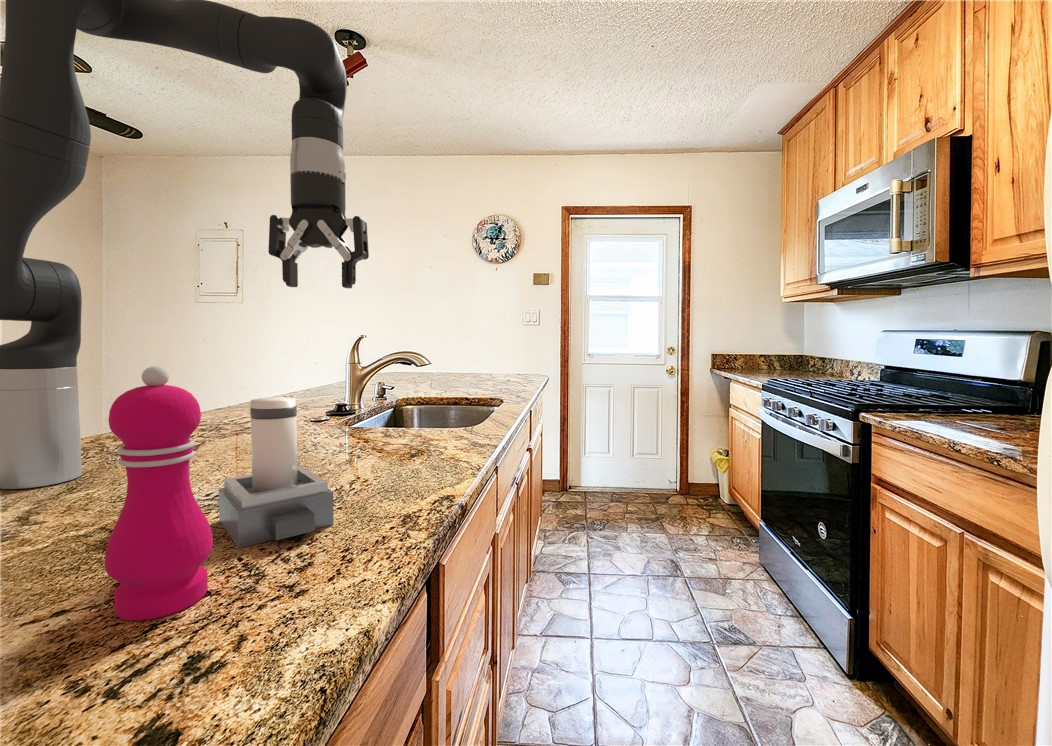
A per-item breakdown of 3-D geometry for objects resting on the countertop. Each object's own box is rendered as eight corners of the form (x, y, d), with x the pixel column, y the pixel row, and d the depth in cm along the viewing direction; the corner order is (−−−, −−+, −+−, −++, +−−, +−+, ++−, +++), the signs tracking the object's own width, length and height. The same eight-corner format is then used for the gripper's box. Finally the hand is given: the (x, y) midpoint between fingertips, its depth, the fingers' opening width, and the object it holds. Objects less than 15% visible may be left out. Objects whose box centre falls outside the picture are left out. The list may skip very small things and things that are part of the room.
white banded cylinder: (247, 489, 57) (245, 399, 56) (290, 481, 60) (289, 396, 59) (258, 499, 53) (256, 403, 53) (303, 490, 57) (302, 400, 56)
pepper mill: (233, 587, 42) (228, 365, 41) (146, 634, 35) (135, 370, 34) (177, 572, 45) (170, 362, 43) (85, 614, 38) (73, 366, 36)
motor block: (219, 520, 57) (218, 478, 57) (305, 502, 64) (305, 465, 64) (244, 556, 48) (242, 506, 48) (341, 530, 55) (340, 487, 55)
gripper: (256, 168, 66) (258, 283, 68) (355, 169, 66) (356, 285, 67) (285, 185, 74) (287, 289, 75) (374, 186, 73) (374, 290, 75)
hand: (319, 287), depth 71 cm, fingers open, 8 cm apart
